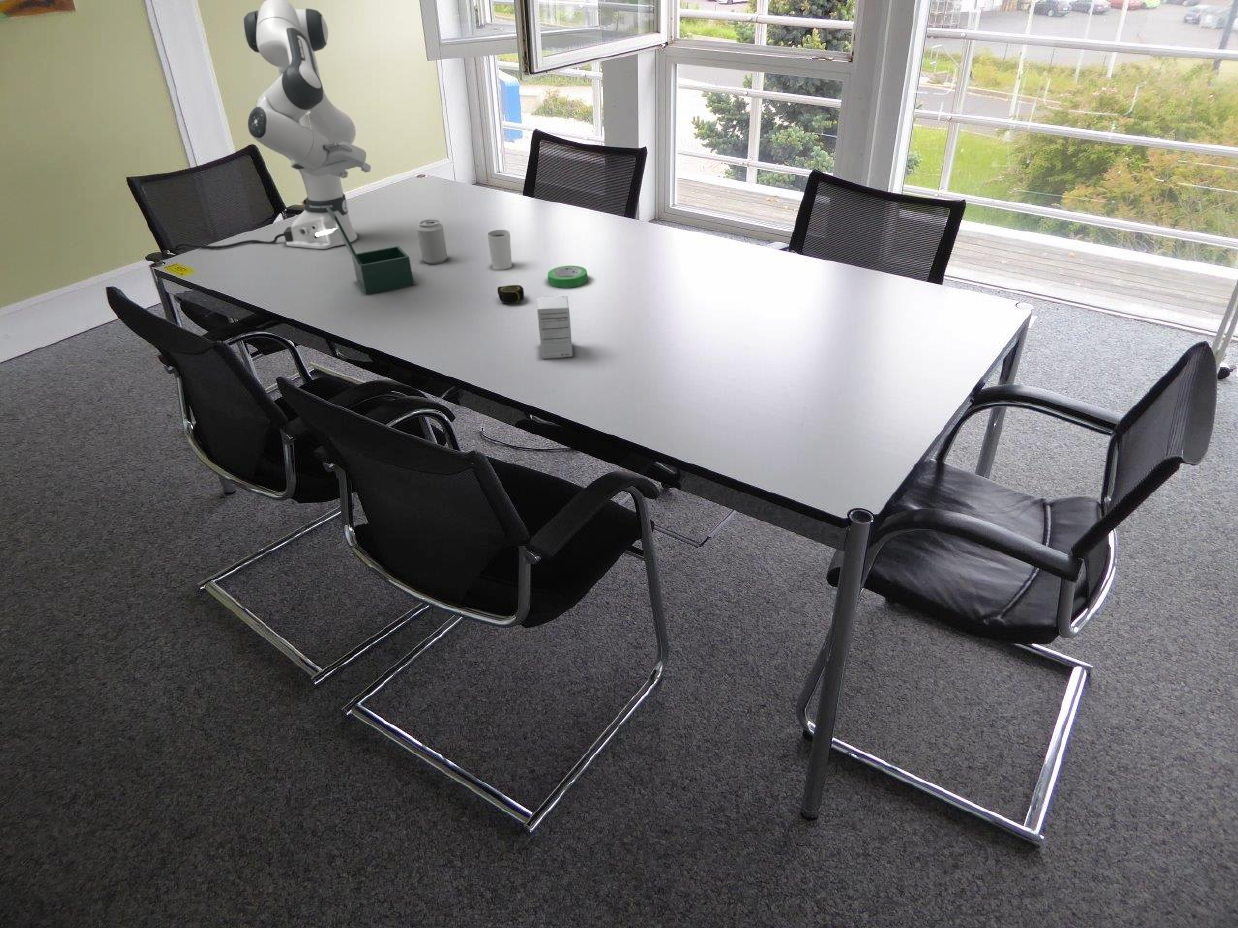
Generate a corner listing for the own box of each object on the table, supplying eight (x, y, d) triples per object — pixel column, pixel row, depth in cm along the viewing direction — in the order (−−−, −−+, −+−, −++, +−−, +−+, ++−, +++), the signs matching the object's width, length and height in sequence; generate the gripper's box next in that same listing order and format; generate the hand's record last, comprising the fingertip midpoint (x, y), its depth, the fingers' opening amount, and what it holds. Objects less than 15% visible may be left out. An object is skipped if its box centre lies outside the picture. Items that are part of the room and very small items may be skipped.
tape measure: (523, 295, 238) (522, 282, 236) (525, 304, 232) (524, 291, 230) (498, 298, 237) (496, 284, 235) (500, 307, 231) (498, 294, 229)
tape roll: (540, 282, 246) (539, 273, 244) (568, 271, 252) (567, 262, 251) (567, 291, 239) (567, 282, 238) (595, 279, 246) (595, 270, 245)
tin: (403, 273, 256) (398, 245, 251) (413, 285, 247) (409, 256, 243) (357, 282, 251) (351, 254, 246) (366, 294, 242) (360, 266, 238)
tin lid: (327, 206, 237) (325, 207, 237) (336, 216, 229) (333, 217, 229) (352, 252, 246) (350, 253, 246) (361, 264, 238) (359, 265, 238)
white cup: (517, 264, 259) (514, 231, 254) (505, 271, 254) (502, 238, 249) (498, 261, 262) (494, 228, 256) (486, 268, 257) (482, 235, 251)
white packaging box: (541, 346, 210) (536, 296, 203) (571, 344, 210) (568, 294, 203) (541, 359, 204) (536, 309, 197) (572, 357, 204) (569, 306, 197)
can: (450, 256, 267) (444, 217, 261) (443, 265, 261) (438, 225, 254) (426, 256, 268) (420, 217, 261) (419, 265, 262) (413, 225, 255)
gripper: (340, 130, 214) (384, 154, 225) (290, 145, 225) (335, 167, 237) (336, 154, 213) (381, 177, 224) (287, 168, 225) (332, 189, 236)
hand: (357, 172), depth 230 cm, fingers open, 8 cm apart
